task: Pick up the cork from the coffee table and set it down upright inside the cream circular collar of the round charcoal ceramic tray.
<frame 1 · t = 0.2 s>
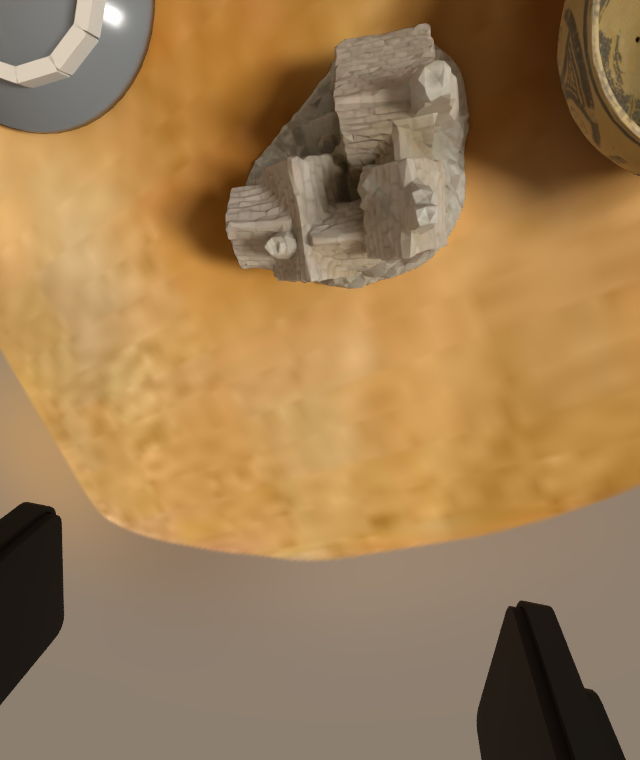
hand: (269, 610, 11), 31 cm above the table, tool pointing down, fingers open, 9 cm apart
ceramic cottage: (354, 170, 38), on the table
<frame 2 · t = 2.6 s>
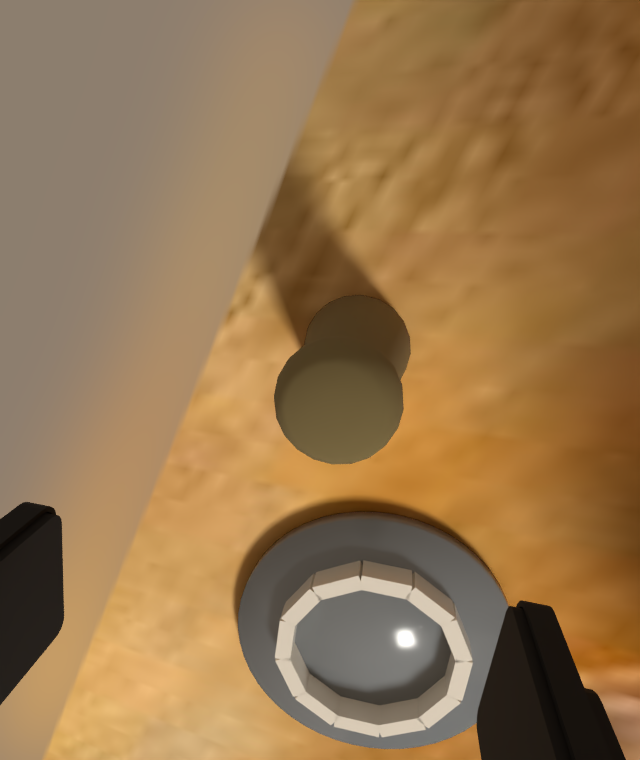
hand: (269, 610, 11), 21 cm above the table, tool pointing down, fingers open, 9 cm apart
cork: (357, 347, 30), on the table
round tray: (372, 631, 36), on the table
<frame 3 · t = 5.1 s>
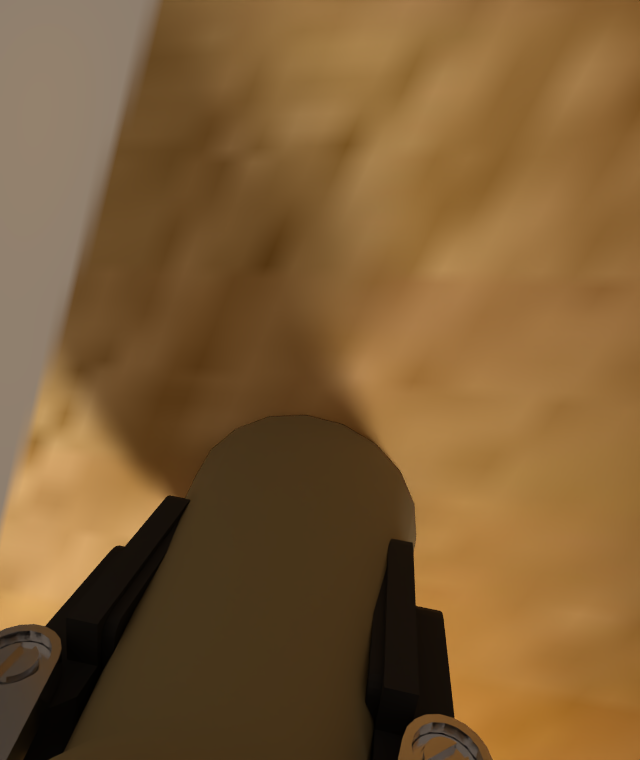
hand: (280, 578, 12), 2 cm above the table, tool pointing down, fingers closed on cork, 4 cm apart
cork: (301, 518, 14), on the table, touching gripper
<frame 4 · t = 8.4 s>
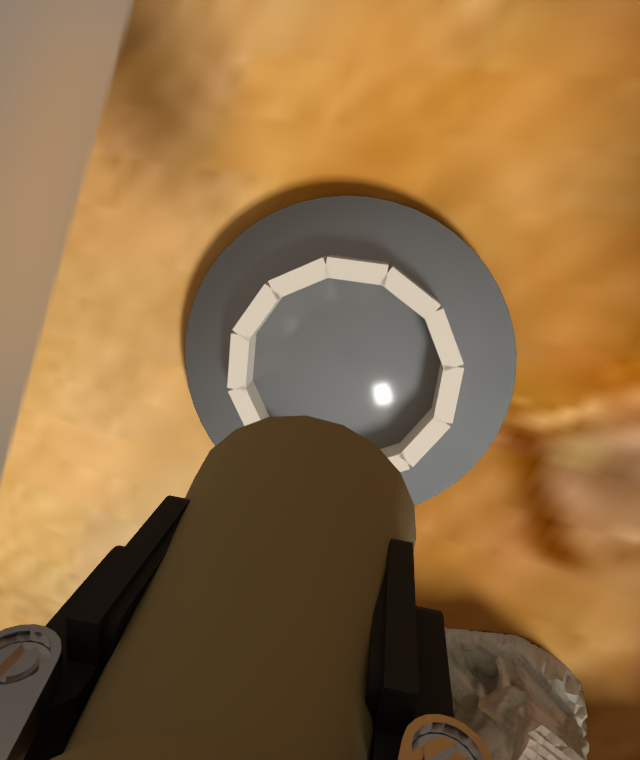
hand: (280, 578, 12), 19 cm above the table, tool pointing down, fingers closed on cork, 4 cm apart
cork: (301, 518, 14), point 16 cm above the table, touching gripper
ceramic cottage: (440, 691, 36), on the table
round tray: (345, 365, 30), on the table
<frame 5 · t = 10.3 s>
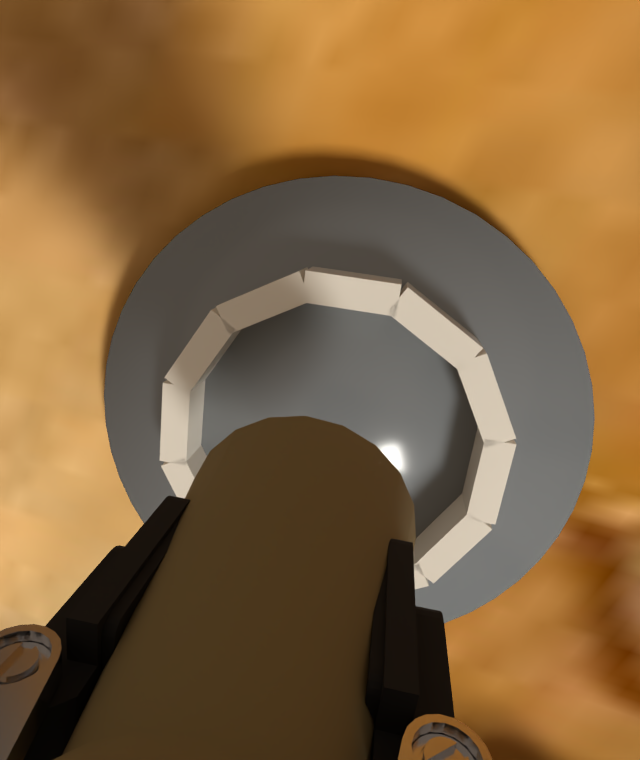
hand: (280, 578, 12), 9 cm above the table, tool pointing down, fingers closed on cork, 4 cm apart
cork: (301, 518, 14), point 7 cm above the table, touching gripper
round tray: (336, 426, 21), on the table
when the fingers open (4 cm above the table, at t = 11.6 s): cork stays where it is, resting on round tray.
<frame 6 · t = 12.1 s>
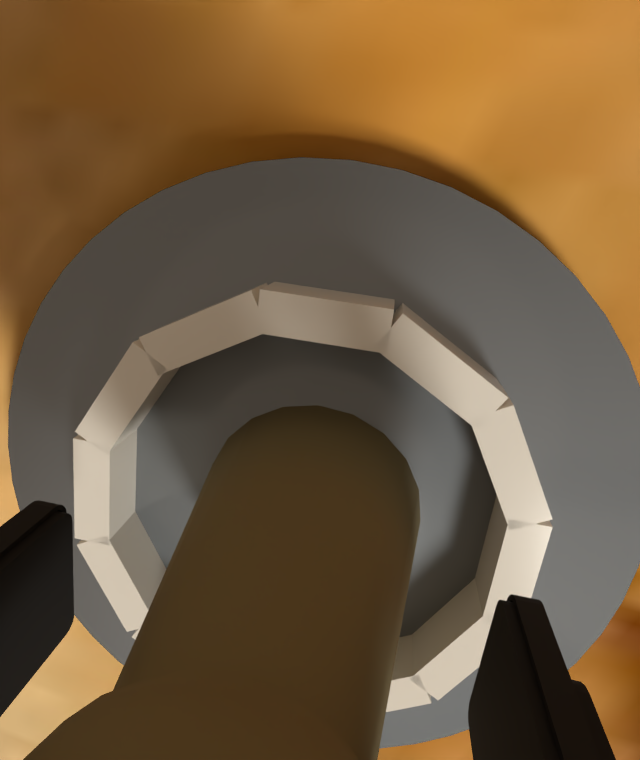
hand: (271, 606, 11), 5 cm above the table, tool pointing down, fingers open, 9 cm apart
cork: (312, 502, 15), point 1 cm above the table, touching round tray
round tray: (310, 486, 16), on the table
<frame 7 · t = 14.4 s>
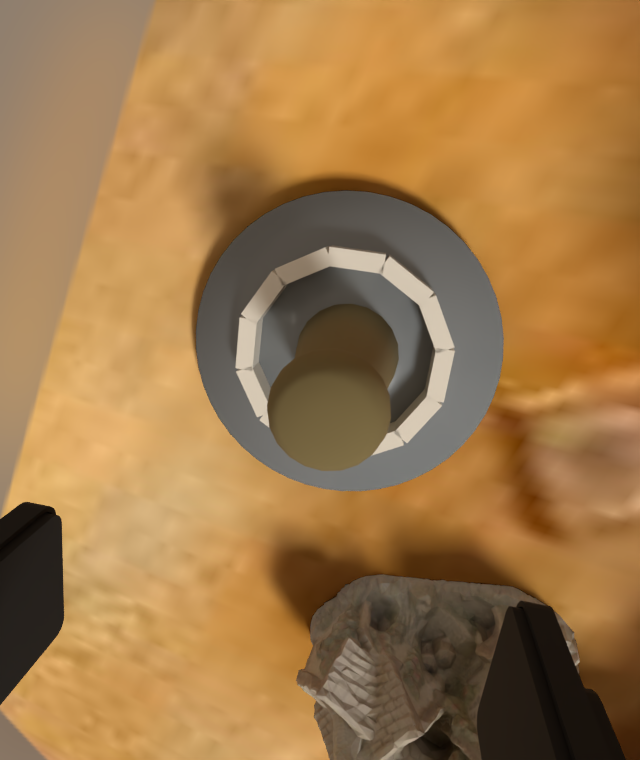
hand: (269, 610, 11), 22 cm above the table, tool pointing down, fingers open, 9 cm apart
cork: (347, 354, 31), point 1 cm above the table, touching round tray
ceramic cottage: (440, 643, 38), on the table
round tray: (345, 349, 32), on the table
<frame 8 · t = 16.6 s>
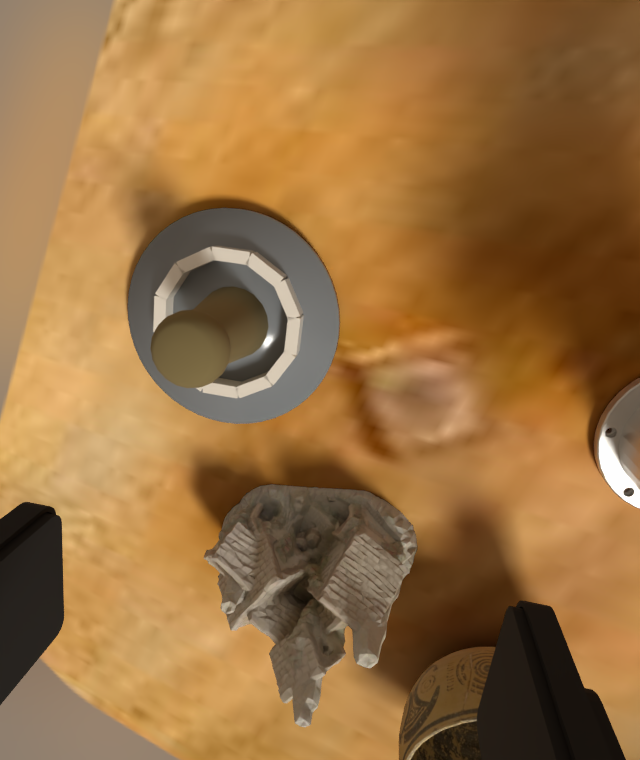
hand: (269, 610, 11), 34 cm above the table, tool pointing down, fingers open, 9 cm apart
cork: (233, 322, 44), point 1 cm above the table, touching round tray
ceramic bowl: (484, 681, 52), on the table
ceramic cottage: (319, 538, 50), on the table
round tray: (234, 319, 45), on the table
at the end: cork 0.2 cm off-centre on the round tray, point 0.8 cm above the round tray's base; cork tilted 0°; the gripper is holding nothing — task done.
